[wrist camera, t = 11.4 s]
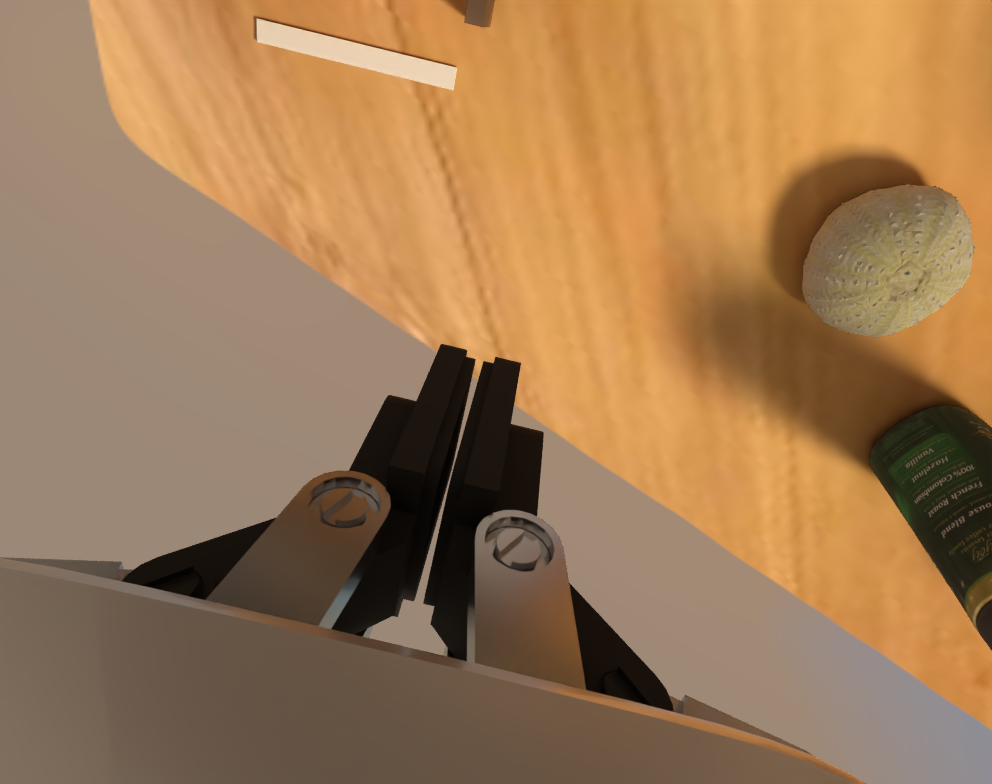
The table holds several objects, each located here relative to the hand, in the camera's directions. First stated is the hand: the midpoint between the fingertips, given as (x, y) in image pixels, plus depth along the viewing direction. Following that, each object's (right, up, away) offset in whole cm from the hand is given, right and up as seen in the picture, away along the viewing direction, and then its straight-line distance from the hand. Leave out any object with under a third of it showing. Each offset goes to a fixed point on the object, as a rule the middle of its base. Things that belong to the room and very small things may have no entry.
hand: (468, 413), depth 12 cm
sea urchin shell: (+25, +9, +26) cm, 37 cm away
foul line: (-8, +20, +23) cm, 32 cm away
